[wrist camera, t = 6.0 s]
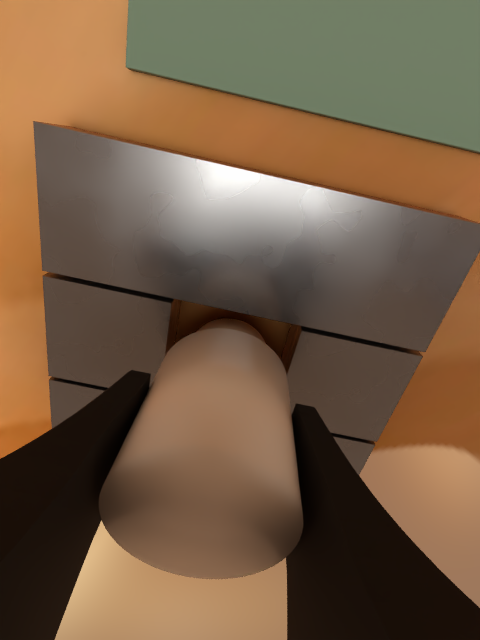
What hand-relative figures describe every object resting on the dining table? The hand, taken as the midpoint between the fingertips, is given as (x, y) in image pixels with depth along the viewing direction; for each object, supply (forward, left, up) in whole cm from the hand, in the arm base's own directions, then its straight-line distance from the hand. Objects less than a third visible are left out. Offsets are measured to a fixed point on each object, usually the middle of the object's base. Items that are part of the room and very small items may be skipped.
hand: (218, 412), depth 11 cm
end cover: (0, 0, -4) cm, 4 cm away
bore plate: (0, 0, -5) cm, 5 cm away
